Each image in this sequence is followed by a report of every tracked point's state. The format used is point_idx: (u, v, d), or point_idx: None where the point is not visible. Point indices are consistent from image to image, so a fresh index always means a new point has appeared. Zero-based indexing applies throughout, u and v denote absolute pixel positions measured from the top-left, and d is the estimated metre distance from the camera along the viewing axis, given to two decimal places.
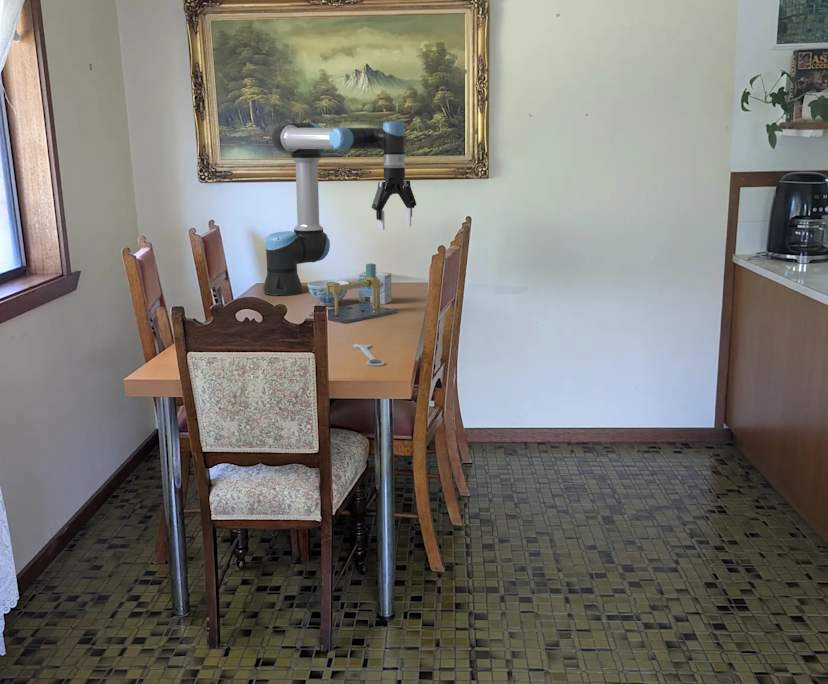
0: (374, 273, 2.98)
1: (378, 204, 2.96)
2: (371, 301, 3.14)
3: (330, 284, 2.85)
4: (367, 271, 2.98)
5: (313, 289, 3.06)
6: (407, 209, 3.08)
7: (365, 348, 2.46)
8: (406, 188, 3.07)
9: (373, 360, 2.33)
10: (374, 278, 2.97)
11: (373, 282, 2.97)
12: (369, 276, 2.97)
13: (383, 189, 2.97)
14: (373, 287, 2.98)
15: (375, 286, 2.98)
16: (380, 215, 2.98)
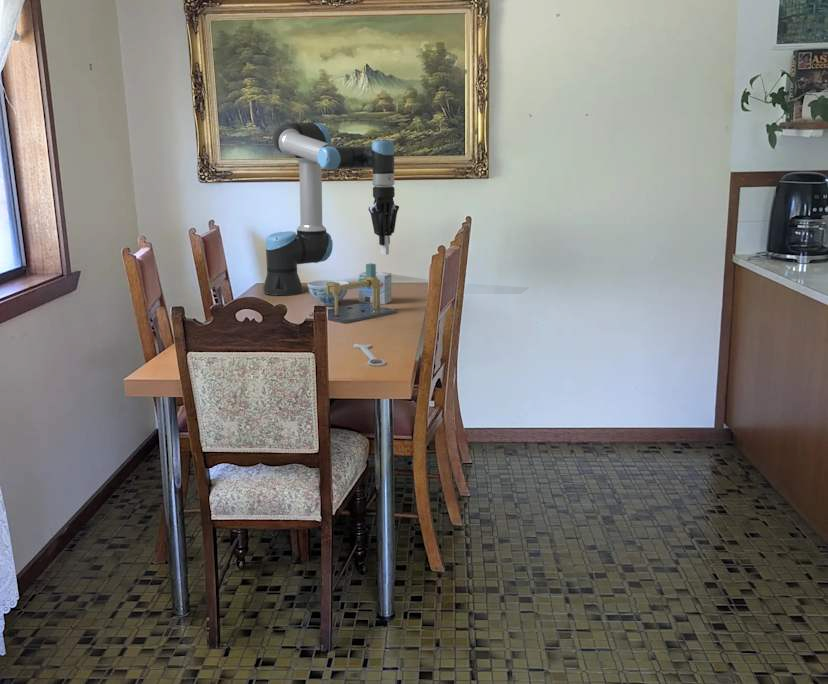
0: (374, 273, 2.98)
1: (379, 230, 2.96)
2: (371, 301, 3.14)
3: (330, 284, 2.85)
4: (367, 271, 2.98)
5: (313, 289, 3.06)
6: None
7: (365, 348, 2.46)
8: (392, 212, 3.01)
9: (374, 360, 2.33)
10: (374, 278, 2.97)
11: (373, 282, 2.97)
12: (369, 276, 2.97)
13: (376, 214, 2.94)
14: (373, 287, 2.98)
15: (375, 286, 2.98)
16: (383, 240, 2.99)
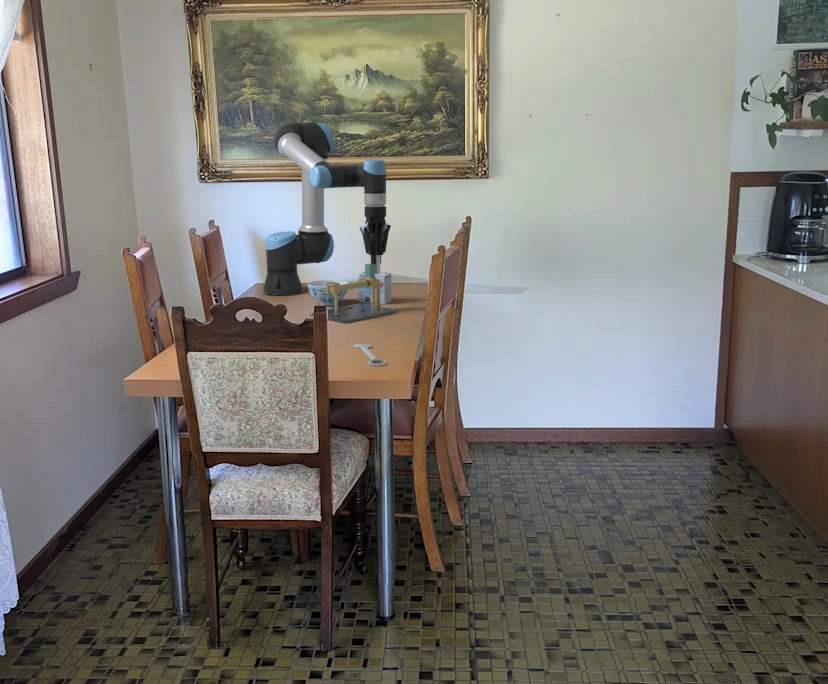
0: (373, 273, 2.97)
1: (371, 249, 2.95)
2: (371, 301, 3.14)
3: (330, 284, 2.85)
4: (366, 271, 2.97)
5: (313, 289, 3.06)
6: None
7: (366, 348, 2.46)
8: (383, 231, 3.00)
9: (374, 360, 2.33)
10: (373, 278, 2.97)
11: (372, 282, 2.97)
12: (368, 276, 2.97)
13: (368, 234, 2.93)
14: (372, 287, 2.97)
15: (374, 286, 2.98)
16: (374, 260, 2.98)
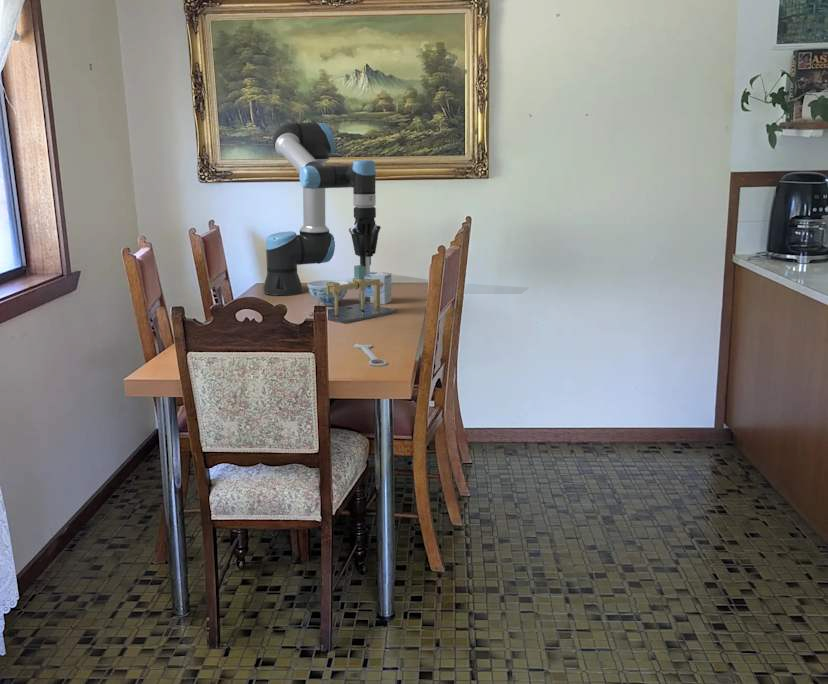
0: (362, 275, 2.94)
1: (360, 251, 2.91)
2: (371, 301, 3.14)
3: (330, 284, 2.85)
4: (355, 273, 2.94)
5: (313, 289, 3.06)
6: None
7: (366, 348, 2.46)
8: (373, 232, 2.96)
9: (375, 360, 2.33)
10: (362, 280, 2.93)
11: (361, 284, 2.93)
12: (357, 278, 2.93)
13: (357, 235, 2.89)
14: (361, 289, 2.94)
15: (363, 288, 2.94)
16: (364, 261, 2.94)
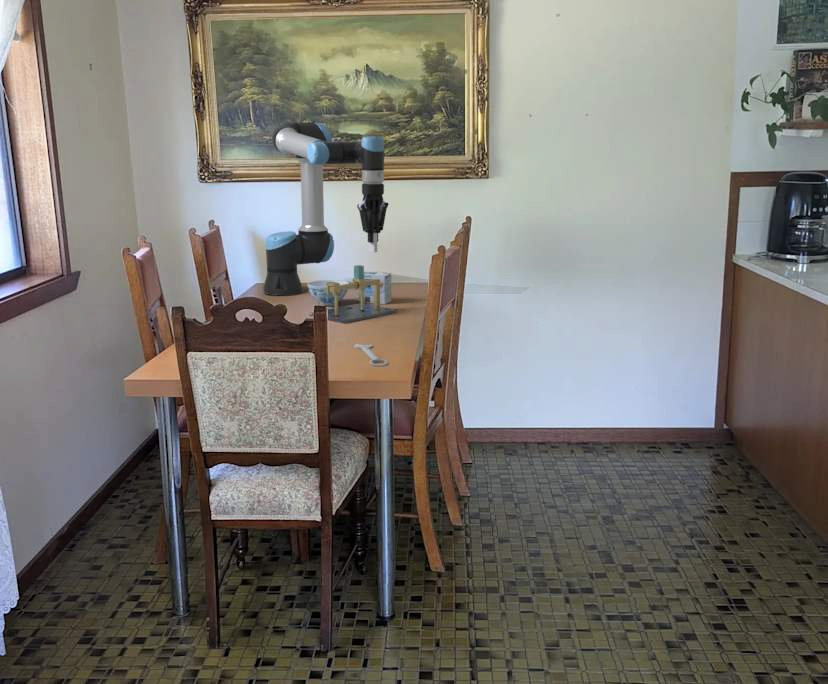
0: (362, 275, 2.94)
1: (368, 227, 2.93)
2: (371, 301, 3.14)
3: (330, 284, 2.85)
4: (355, 273, 2.94)
5: (313, 289, 3.06)
6: None
7: (367, 348, 2.46)
8: (381, 209, 2.97)
9: (376, 360, 2.33)
10: (362, 280, 2.93)
11: (361, 284, 2.93)
12: (357, 278, 2.93)
13: (365, 211, 2.90)
14: (361, 289, 2.94)
15: (363, 288, 2.94)
16: (371, 238, 2.95)
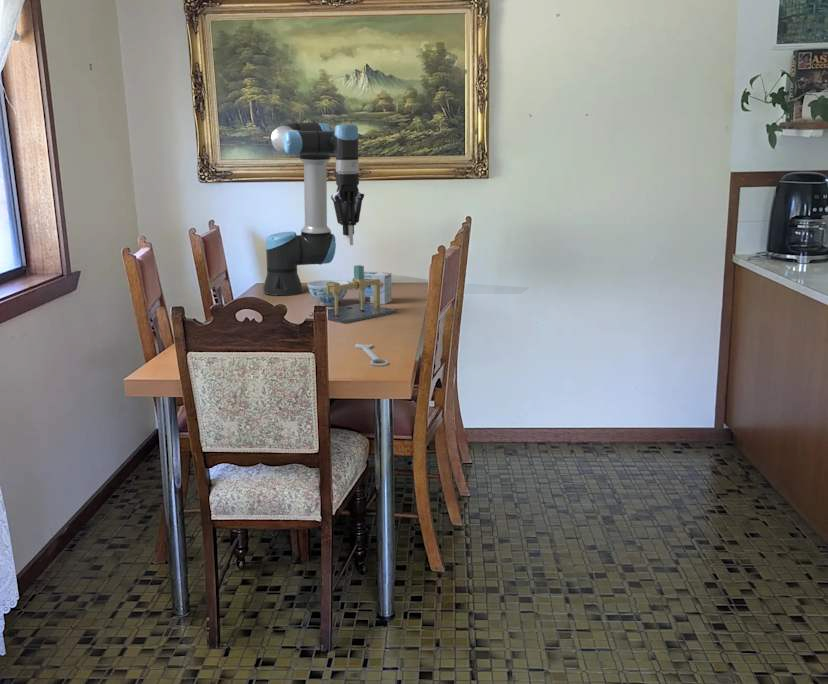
0: (362, 275, 2.94)
1: (343, 219, 2.81)
2: (371, 301, 3.14)
3: (330, 284, 2.85)
4: (355, 273, 2.94)
5: (313, 289, 3.06)
6: None
7: (367, 348, 2.46)
8: (356, 200, 2.86)
9: (376, 360, 2.33)
10: (362, 280, 2.93)
11: (361, 284, 2.93)
12: (357, 278, 2.93)
13: (339, 202, 2.79)
14: (361, 289, 2.94)
15: (363, 288, 2.94)
16: (347, 230, 2.84)
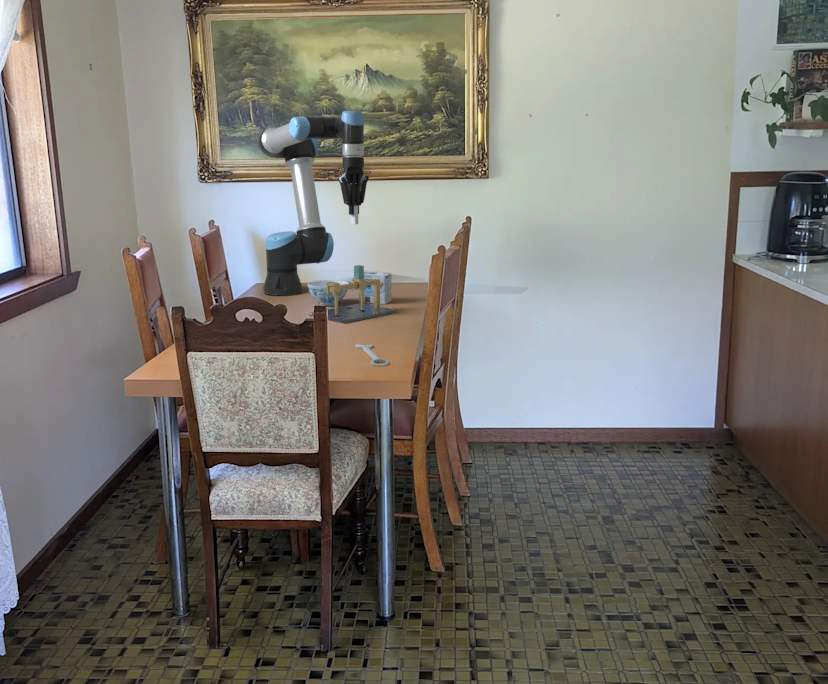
0: (362, 275, 2.94)
1: (349, 199, 3.01)
2: (371, 301, 3.14)
3: (330, 284, 2.85)
4: (355, 273, 2.94)
5: (313, 289, 3.06)
6: None
7: (367, 348, 2.46)
8: (361, 182, 3.06)
9: (377, 360, 2.33)
10: (362, 280, 2.93)
11: (361, 284, 2.93)
12: (357, 278, 2.93)
13: (345, 184, 2.99)
14: (361, 289, 2.94)
15: (363, 288, 2.94)
16: (352, 210, 3.04)
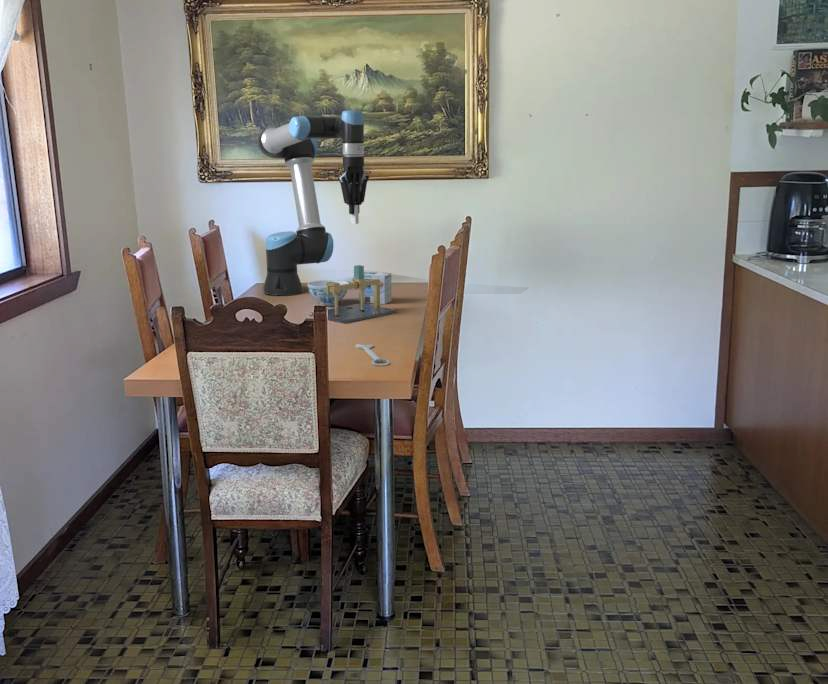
0: (362, 275, 2.94)
1: (349, 199, 3.01)
2: (371, 301, 3.14)
3: (330, 284, 2.85)
4: (355, 273, 2.94)
5: (313, 289, 3.06)
6: None
7: (368, 348, 2.46)
8: (362, 182, 3.06)
9: (378, 360, 2.33)
10: (362, 280, 2.93)
11: (361, 284, 2.93)
12: (357, 278, 2.93)
13: (346, 183, 2.99)
14: (361, 289, 2.94)
15: (363, 288, 2.94)
16: (353, 210, 3.04)
